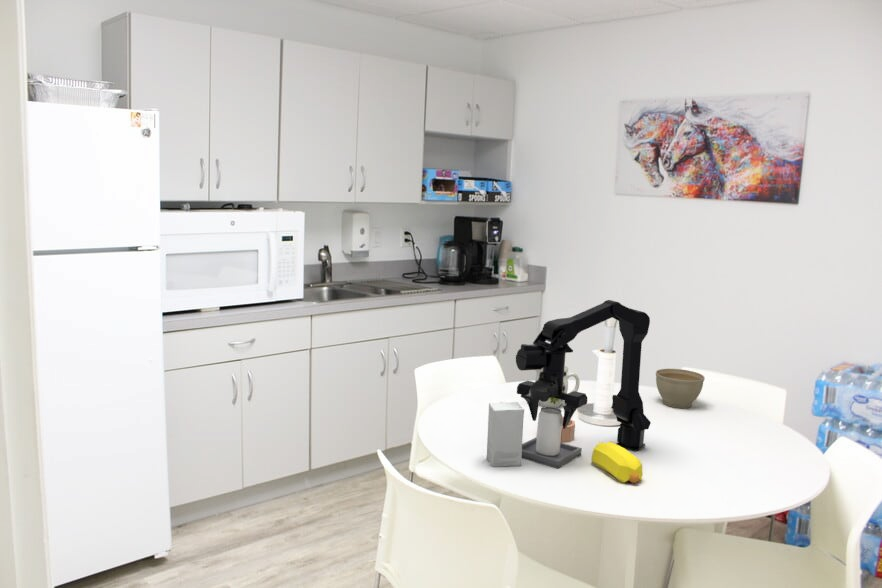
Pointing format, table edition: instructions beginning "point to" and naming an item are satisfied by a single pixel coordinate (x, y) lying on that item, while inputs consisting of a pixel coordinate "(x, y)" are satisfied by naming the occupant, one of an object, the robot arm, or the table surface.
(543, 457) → the tray
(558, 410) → the can
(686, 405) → the planter bowl
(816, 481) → the table surface
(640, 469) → the yellow faceted block
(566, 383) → the pitcher
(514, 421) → the skincare box
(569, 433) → the ring
